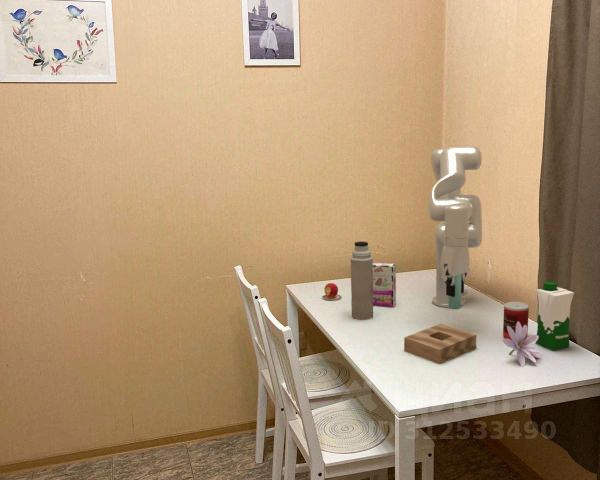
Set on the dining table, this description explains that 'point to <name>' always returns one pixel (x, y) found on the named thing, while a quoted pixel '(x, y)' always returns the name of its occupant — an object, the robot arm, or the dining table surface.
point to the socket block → (440, 343)
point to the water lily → (522, 344)
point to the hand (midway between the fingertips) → (454, 293)
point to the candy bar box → (384, 284)
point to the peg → (456, 294)
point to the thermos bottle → (362, 282)
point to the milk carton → (553, 316)
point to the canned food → (515, 317)
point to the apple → (331, 292)
